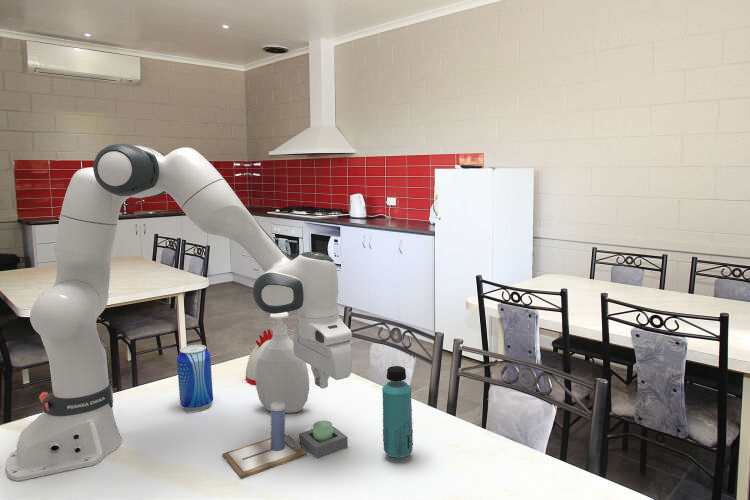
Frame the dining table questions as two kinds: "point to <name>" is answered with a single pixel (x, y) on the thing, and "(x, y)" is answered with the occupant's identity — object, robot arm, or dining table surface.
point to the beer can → (194, 378)
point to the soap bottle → (281, 371)
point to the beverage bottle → (397, 414)
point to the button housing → (323, 443)
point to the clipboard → (262, 456)
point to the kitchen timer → (256, 357)
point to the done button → (322, 431)
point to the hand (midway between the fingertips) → (321, 386)
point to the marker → (277, 425)
